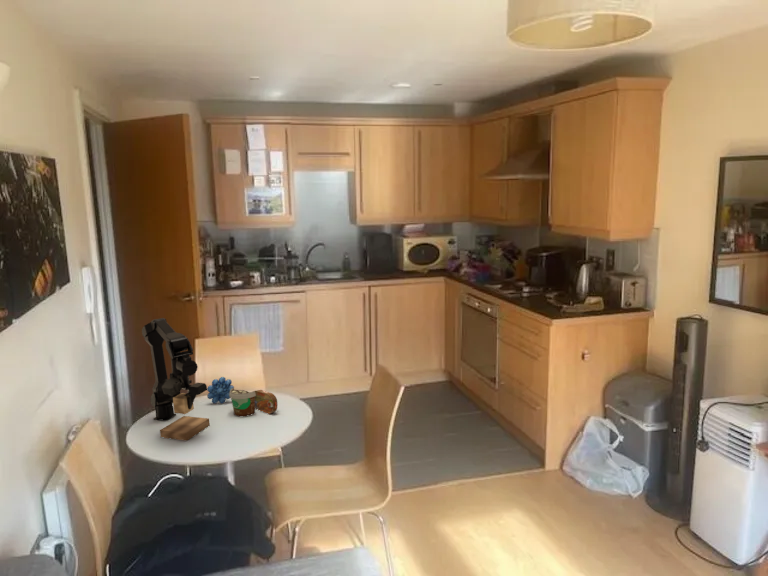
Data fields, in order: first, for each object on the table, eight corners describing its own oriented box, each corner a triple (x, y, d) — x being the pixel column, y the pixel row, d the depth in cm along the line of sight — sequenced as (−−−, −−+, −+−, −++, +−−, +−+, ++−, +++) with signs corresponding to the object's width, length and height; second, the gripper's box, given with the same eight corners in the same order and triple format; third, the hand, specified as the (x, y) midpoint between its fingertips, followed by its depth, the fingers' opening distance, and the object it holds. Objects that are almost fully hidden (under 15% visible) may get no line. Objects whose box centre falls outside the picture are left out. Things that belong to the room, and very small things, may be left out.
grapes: (236, 398, 257) (234, 372, 255) (234, 404, 250) (232, 377, 248) (209, 401, 256) (207, 375, 253) (207, 406, 249) (204, 380, 247)
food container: (224, 415, 239) (222, 392, 237) (234, 409, 244) (232, 387, 242) (247, 419, 233) (245, 395, 231) (257, 414, 238) (255, 390, 236)
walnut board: (160, 437, 219) (159, 430, 219) (184, 422, 232) (183, 415, 232) (187, 440, 215) (186, 433, 215) (209, 425, 228) (209, 418, 228)
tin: (251, 408, 245) (250, 389, 244) (257, 405, 248) (256, 387, 246) (273, 416, 235) (271, 396, 234) (279, 413, 237) (278, 394, 236)
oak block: (174, 412, 218) (172, 397, 217) (183, 407, 223) (181, 392, 222) (185, 414, 217) (183, 399, 215) (193, 408, 221) (192, 394, 220)
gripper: (144, 374, 212) (149, 413, 215) (186, 378, 206) (190, 419, 209) (165, 364, 222) (169, 402, 225) (206, 368, 216) (209, 407, 219)
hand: (183, 408), depth 219 cm, fingers closed on oak block, 5 cm apart
